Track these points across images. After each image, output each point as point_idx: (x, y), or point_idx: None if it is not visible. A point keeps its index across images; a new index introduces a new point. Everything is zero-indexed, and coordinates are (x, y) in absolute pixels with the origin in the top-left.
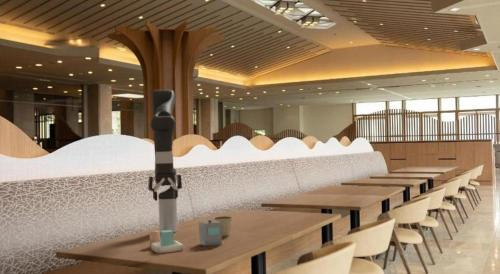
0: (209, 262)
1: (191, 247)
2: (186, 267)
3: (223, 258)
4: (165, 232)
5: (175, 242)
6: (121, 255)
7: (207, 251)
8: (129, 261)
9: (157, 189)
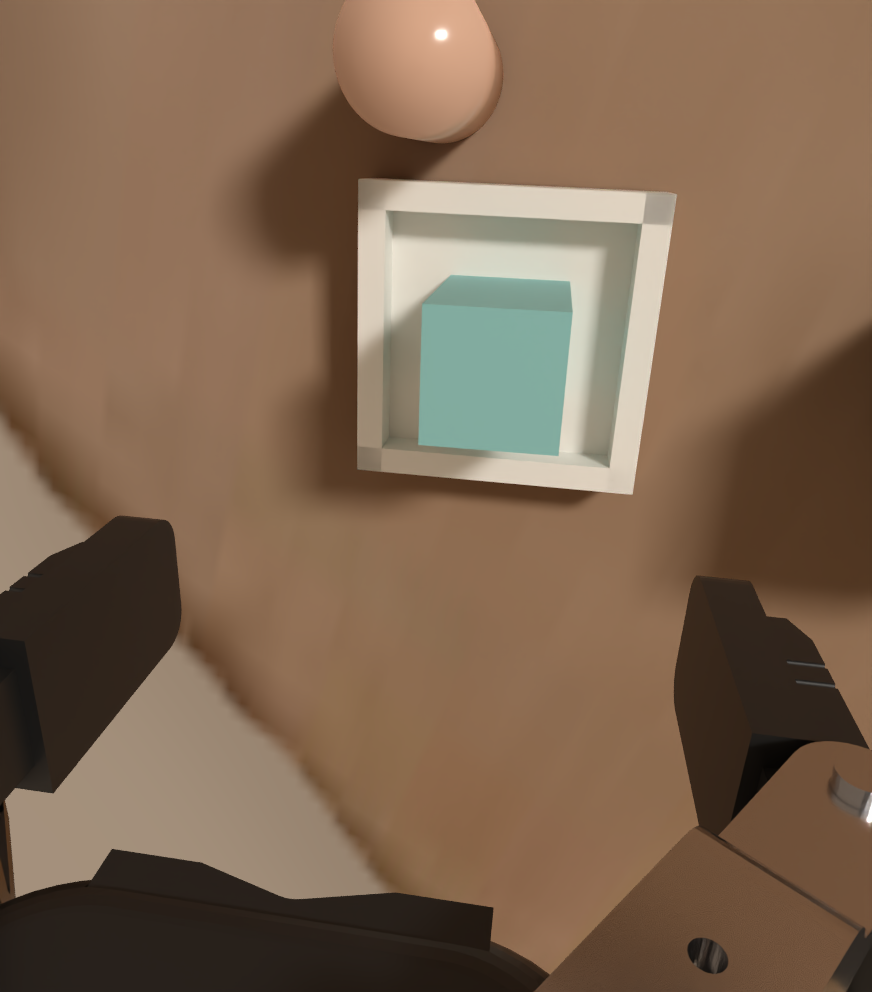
0: None
1: (770, 385)
2: None
3: None
4: (449, 446)
5: (633, 282)
6: (52, 300)
7: None
8: None
9: (10, 875)
